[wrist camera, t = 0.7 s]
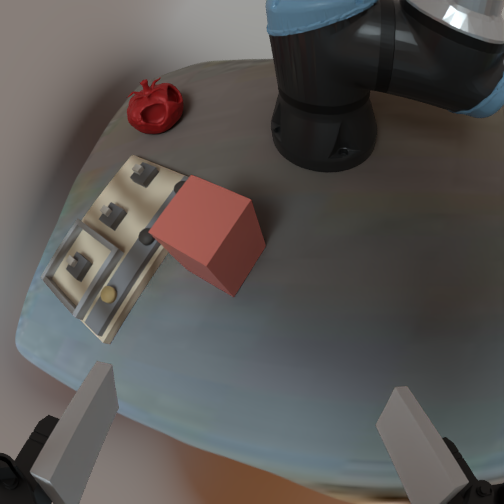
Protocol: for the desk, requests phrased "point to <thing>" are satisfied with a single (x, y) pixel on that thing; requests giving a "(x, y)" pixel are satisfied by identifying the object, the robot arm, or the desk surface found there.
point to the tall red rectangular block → (211, 233)
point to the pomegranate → (155, 107)
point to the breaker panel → (113, 247)
